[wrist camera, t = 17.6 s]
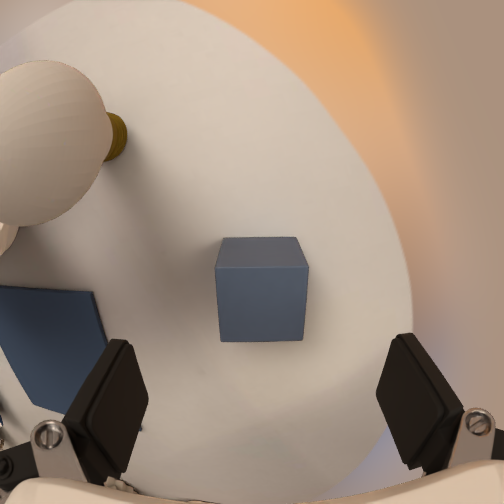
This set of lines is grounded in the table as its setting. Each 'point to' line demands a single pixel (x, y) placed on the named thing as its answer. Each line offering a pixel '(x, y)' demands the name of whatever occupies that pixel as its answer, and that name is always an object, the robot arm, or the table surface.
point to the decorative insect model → (2, 444)
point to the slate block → (261, 289)
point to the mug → (7, 236)
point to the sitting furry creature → (200, 502)
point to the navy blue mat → (50, 341)
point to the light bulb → (51, 140)
